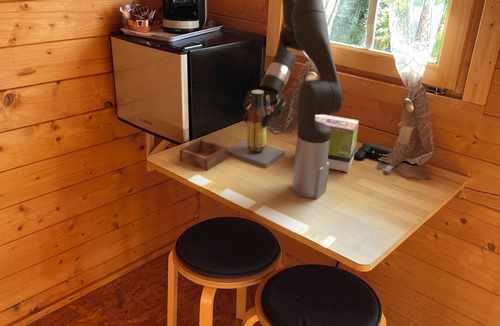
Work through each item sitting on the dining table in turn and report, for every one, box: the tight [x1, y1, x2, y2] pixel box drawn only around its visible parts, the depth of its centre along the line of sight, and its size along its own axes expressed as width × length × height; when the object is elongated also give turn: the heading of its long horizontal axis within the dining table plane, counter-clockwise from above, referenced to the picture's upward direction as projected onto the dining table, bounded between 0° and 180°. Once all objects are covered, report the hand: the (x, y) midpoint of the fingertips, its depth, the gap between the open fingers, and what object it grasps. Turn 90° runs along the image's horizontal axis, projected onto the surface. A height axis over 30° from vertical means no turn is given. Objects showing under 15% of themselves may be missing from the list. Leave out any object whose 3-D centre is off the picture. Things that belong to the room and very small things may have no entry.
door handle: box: [353, 141, 394, 176], centre depth 162 cm, size 3×20×16 cm
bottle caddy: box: [179, 138, 229, 172], centre depth 157 cm, size 11×11×4 cm
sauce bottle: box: [246, 89, 267, 152], centre depth 157 cm, size 6×6×20 cm
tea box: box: [315, 114, 360, 173], centre depth 157 cm, size 15×10×15 cm, turn 69°
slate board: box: [228, 138, 286, 169], centre depth 162 cm, size 16×12×2 cm
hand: (254, 123), depth 156 cm, fingers closed on sauce bottle, 6 cm apart
